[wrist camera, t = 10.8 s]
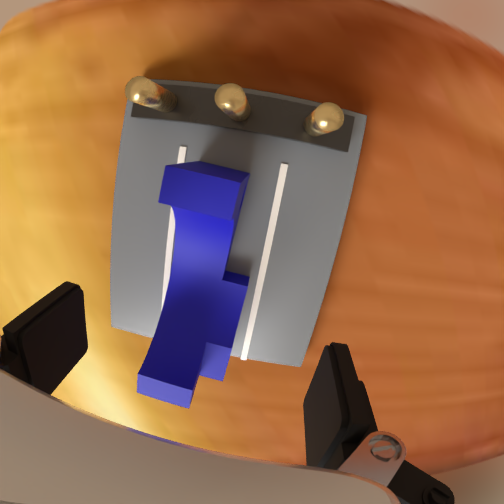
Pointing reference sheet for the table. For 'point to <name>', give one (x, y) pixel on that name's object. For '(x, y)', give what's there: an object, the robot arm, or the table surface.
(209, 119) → the brass pins
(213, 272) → the blue curved bracket
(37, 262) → the table surface
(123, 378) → the table surface
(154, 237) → the header board
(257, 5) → the table surface
